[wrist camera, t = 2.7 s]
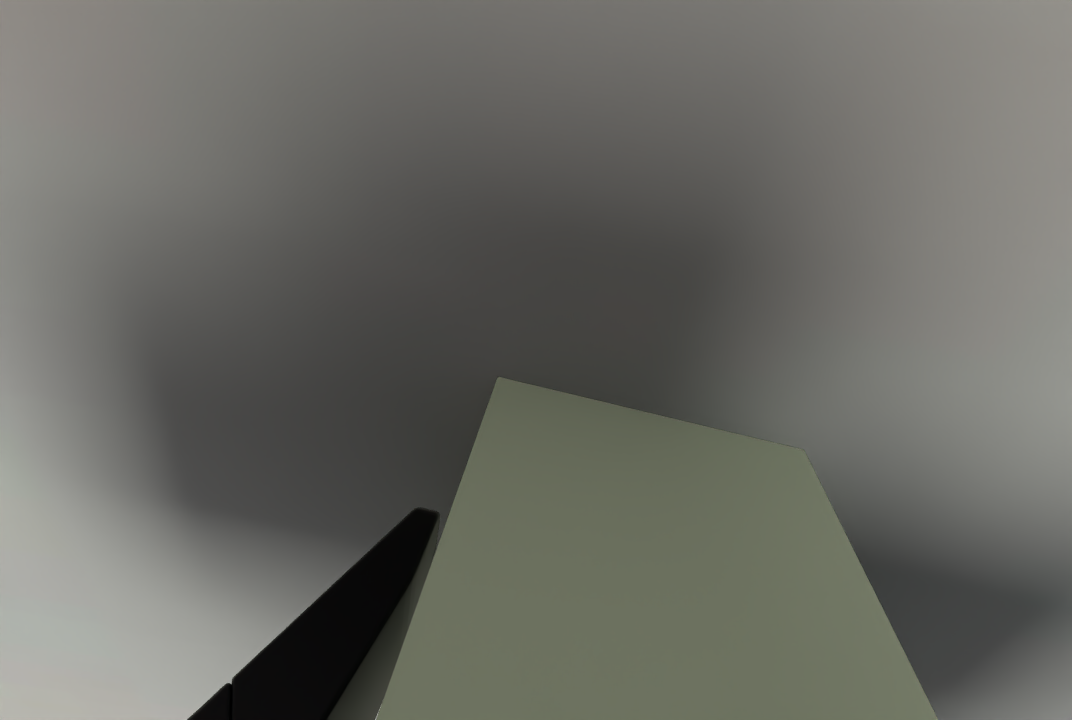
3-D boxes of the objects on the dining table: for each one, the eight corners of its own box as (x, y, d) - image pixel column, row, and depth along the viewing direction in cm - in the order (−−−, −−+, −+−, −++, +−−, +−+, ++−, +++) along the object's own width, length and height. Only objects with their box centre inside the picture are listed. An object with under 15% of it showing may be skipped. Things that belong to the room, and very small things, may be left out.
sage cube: (802, 446, 8) (1016, 877, 4) (691, 622, 11) (744, 993, 6) (498, 373, 8) (375, 720, 4) (461, 566, 11) (362, 901, 6)
